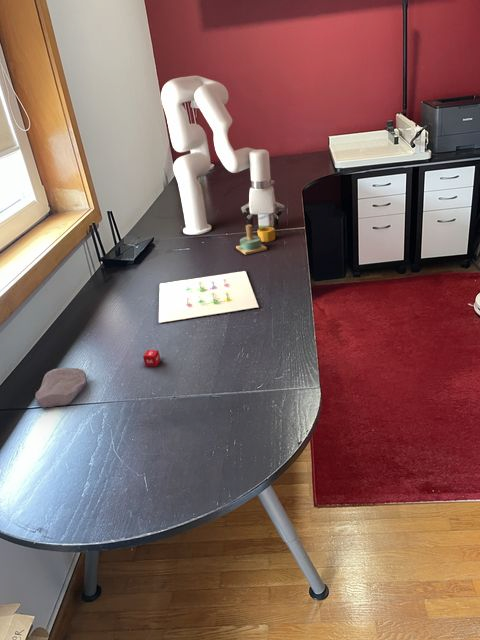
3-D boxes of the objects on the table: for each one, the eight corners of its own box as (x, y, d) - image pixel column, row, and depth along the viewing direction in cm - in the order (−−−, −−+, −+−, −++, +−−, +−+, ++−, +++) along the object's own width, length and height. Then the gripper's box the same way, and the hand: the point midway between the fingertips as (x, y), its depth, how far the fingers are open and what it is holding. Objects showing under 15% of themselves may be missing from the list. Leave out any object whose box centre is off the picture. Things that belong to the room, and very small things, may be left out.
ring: (257, 242, 203) (256, 232, 201) (259, 236, 209) (258, 227, 207) (274, 241, 202) (273, 231, 200) (275, 235, 208) (275, 226, 206)
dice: (156, 366, 129) (154, 356, 127) (145, 366, 129) (142, 356, 128) (160, 360, 131) (158, 350, 130) (149, 359, 132) (147, 350, 130)
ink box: (262, 225, 222) (260, 198, 215) (274, 225, 220) (272, 197, 214) (258, 232, 214) (256, 204, 208) (270, 231, 213) (268, 203, 207)
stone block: (90, 382, 128) (49, 380, 127) (89, 366, 126) (47, 364, 125) (79, 412, 118) (35, 410, 117) (78, 396, 116) (32, 394, 115)
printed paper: (258, 308, 152) (258, 303, 151) (158, 323, 149) (157, 319, 148) (245, 271, 178) (245, 267, 177) (160, 284, 175) (159, 280, 174)
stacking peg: (236, 248, 199) (233, 225, 194) (256, 243, 202) (254, 220, 197) (245, 255, 192) (242, 230, 187) (266, 249, 195) (264, 225, 190)
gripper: (284, 180, 197) (285, 223, 206) (240, 182, 199) (244, 225, 208) (282, 185, 191) (284, 230, 200) (237, 187, 193) (241, 231, 202)
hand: (263, 227), depth 204 cm, fingers open, 9 cm apart
